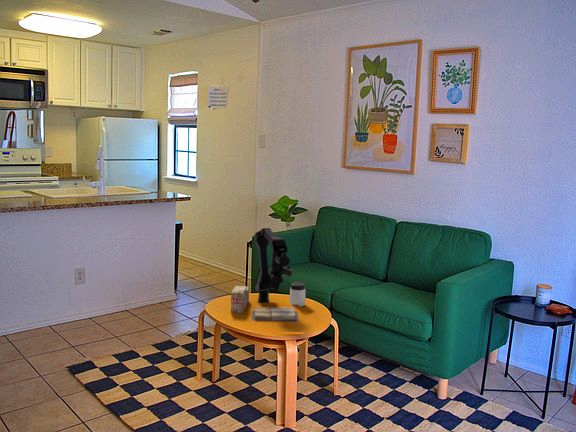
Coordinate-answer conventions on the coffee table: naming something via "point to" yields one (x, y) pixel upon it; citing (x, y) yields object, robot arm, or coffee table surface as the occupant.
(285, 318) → the ash plank
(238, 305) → the stack of blocks
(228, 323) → the coffee table surface
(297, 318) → the underlay mat
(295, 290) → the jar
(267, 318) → the oak board
